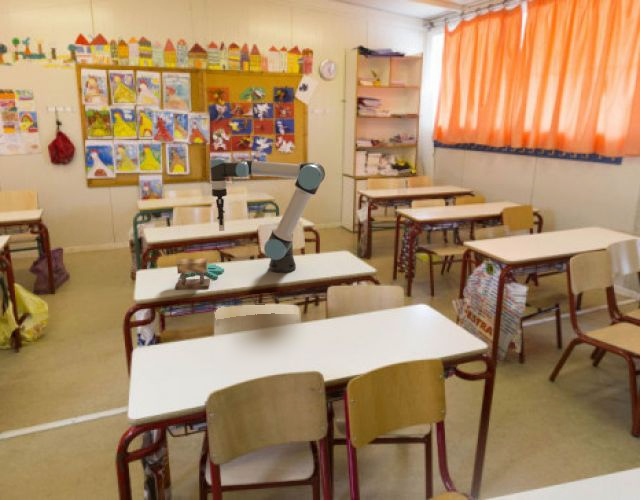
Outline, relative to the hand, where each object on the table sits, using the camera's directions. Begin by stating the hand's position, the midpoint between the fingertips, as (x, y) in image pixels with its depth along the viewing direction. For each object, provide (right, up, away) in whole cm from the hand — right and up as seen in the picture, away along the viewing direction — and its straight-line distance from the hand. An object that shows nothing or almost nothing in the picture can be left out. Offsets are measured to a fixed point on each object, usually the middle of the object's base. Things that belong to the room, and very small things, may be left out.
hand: (221, 227), depth 260 cm
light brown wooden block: (-12, -22, -15) cm, 29 cm away
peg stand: (-12, -30, -12) cm, 35 cm away
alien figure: (-11, -25, +7) cm, 28 cm away
